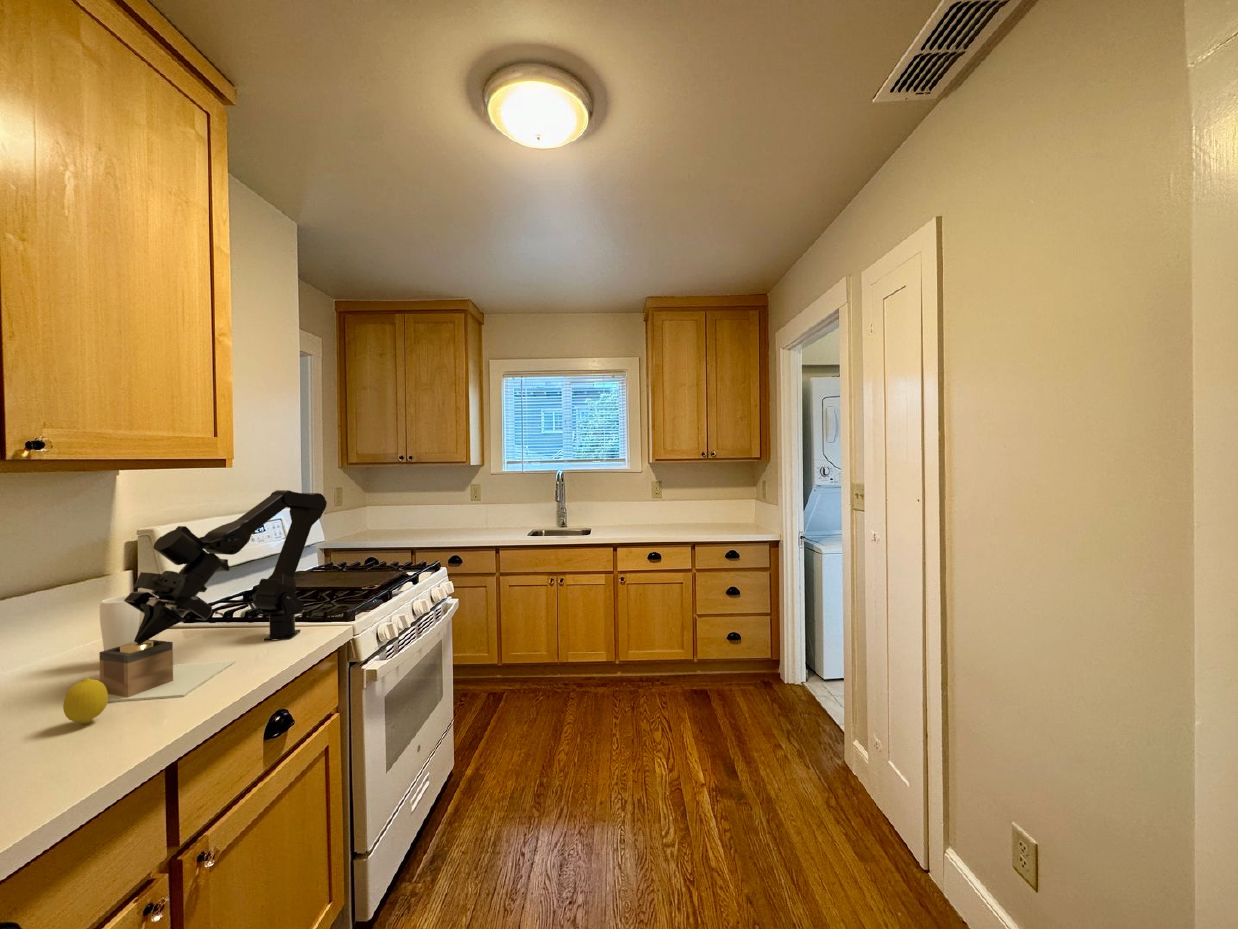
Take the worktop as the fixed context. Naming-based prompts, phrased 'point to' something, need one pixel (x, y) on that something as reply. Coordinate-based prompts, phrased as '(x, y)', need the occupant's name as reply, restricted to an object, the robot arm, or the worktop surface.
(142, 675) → the wooden box
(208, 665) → the mat
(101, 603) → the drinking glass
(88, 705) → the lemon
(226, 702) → the worktop surface
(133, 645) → the peg
